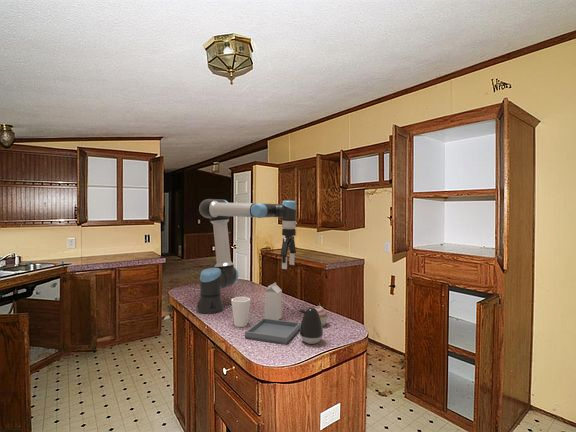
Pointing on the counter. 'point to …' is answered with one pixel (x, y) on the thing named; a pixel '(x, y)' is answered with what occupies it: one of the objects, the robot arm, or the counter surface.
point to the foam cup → (240, 310)
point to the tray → (273, 331)
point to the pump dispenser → (311, 326)
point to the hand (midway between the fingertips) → (288, 266)
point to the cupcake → (322, 314)
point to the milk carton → (273, 302)
